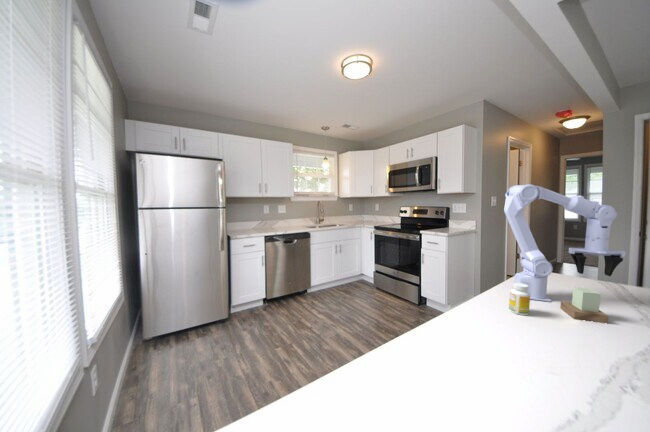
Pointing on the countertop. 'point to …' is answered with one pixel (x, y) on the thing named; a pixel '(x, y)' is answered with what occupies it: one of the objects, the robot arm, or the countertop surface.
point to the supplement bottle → (519, 299)
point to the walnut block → (583, 313)
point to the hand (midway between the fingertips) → (593, 274)
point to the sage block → (586, 299)
